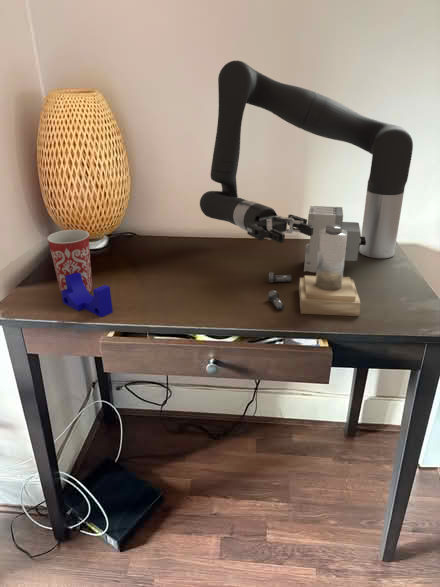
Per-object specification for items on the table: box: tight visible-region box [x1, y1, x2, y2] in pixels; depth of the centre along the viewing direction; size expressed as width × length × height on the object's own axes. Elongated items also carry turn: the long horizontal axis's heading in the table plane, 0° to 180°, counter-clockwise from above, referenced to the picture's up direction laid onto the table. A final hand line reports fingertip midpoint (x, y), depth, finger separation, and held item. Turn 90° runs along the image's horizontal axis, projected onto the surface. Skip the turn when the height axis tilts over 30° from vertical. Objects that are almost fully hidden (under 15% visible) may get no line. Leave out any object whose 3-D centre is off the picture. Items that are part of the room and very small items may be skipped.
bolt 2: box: [267, 289, 285, 311], centre depth 103 cm, size 5×2×2 cm, turn 13°
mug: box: [46, 229, 93, 295], centre depth 110 cm, size 13×9×14 cm
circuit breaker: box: [303, 205, 366, 273], centre depth 119 cm, size 8×14×15 cm, turn 78°
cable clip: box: [60, 273, 114, 318], centre depth 102 cm, size 12×4×6 cm, turn 49°
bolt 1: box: [268, 272, 293, 283], centre depth 114 cm, size 5×2×2 cm, turn 93°
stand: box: [298, 275, 362, 317], centre depth 104 cm, size 12×12×4 cm
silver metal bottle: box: [315, 224, 347, 291], centre depth 100 cm, size 6×6×13 cm
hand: (298, 235), depth 107 cm, fingers open, 8 cm apart
